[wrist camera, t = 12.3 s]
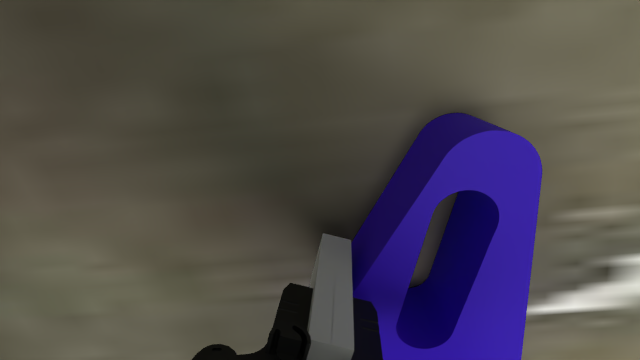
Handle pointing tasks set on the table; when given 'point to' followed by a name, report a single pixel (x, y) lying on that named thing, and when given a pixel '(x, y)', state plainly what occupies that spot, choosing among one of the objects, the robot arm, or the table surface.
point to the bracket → (453, 244)
